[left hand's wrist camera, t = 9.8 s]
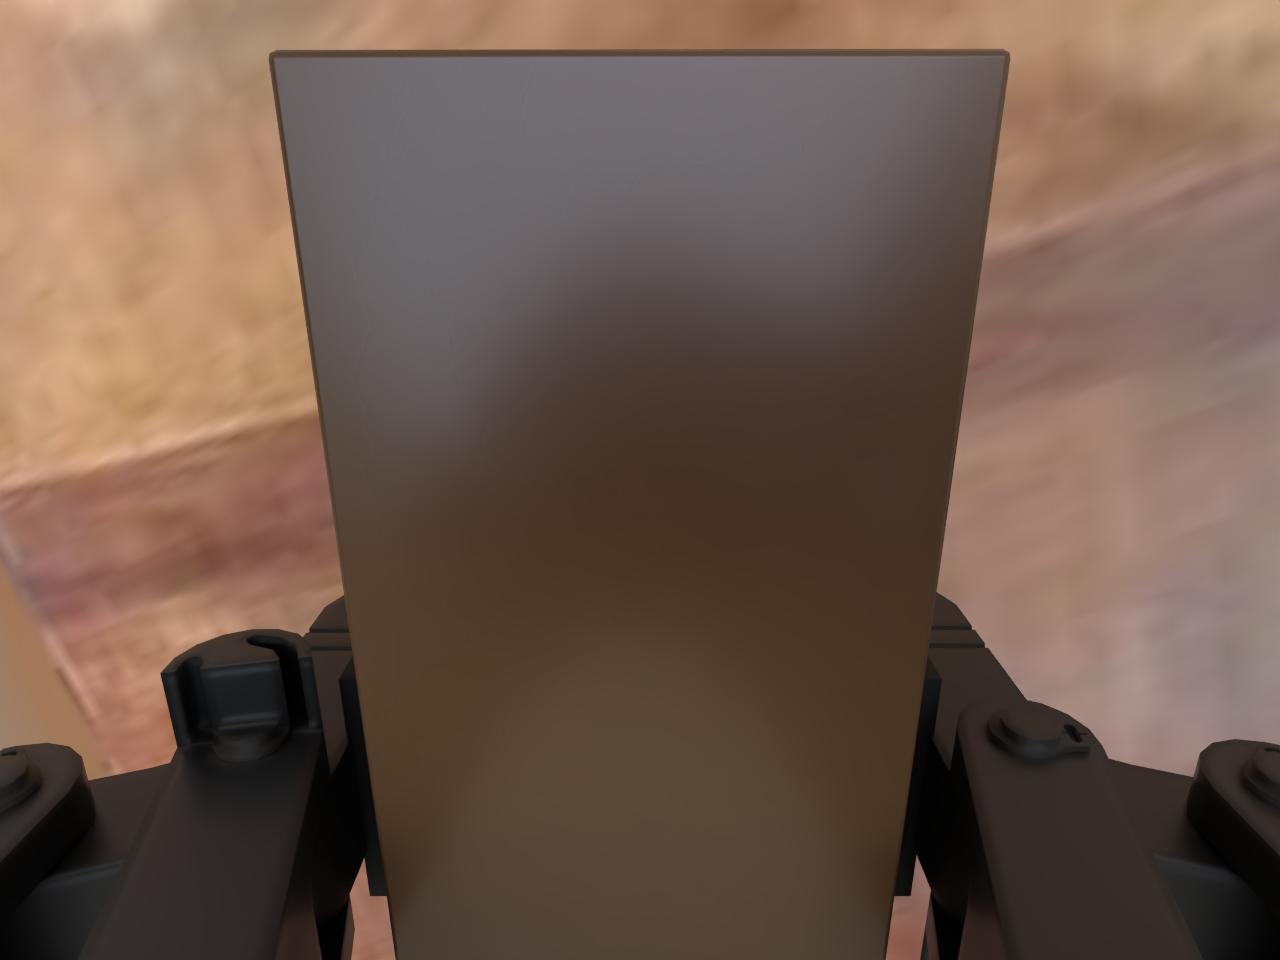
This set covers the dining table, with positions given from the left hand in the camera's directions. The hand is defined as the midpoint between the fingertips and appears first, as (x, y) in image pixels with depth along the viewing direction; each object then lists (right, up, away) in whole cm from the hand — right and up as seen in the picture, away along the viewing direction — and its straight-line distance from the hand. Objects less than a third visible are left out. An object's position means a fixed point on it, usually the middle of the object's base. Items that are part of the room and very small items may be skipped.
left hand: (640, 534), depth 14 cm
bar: (0, -26, +10) cm, 28 cm away
